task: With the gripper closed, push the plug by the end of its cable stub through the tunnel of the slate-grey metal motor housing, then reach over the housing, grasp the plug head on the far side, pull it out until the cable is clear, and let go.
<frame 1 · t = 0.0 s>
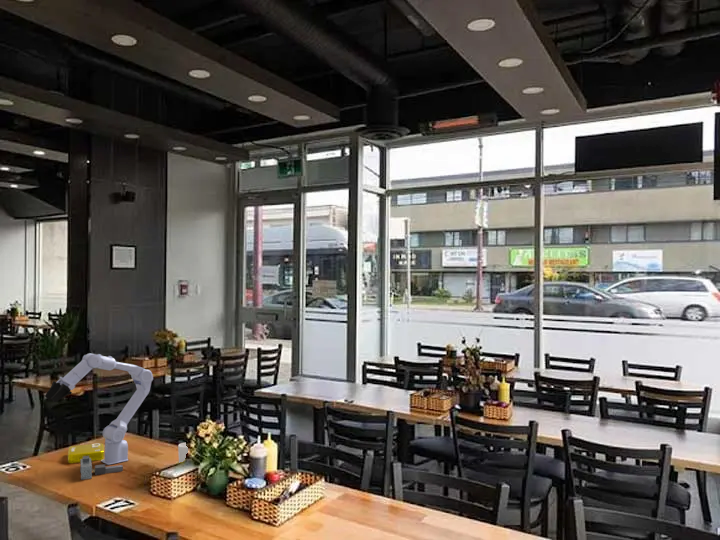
hand: (49, 399, 248), 32 cm above the table, tool tilted 50°, fingers open, 7 cm apart
motor housing: (85, 474, 249), on the table
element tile: (86, 458, 273), on the table
white cup: (187, 467, 261), on the table
plug: (100, 473, 252), on the table
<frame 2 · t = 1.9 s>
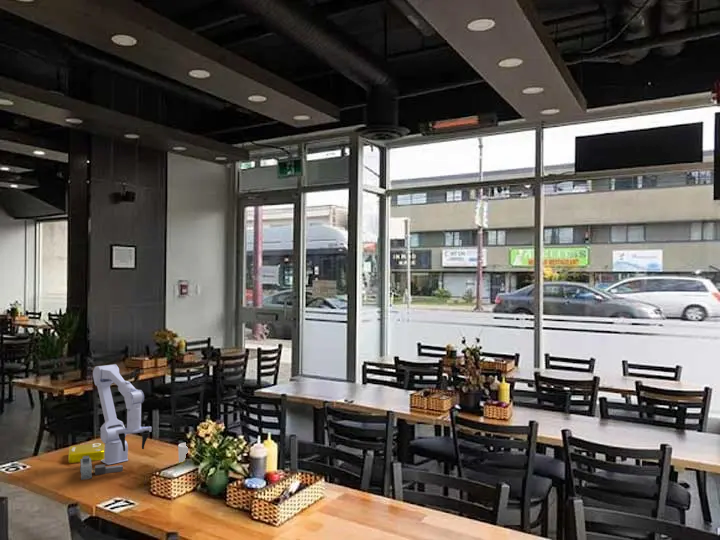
hand: (133, 449, 258), 9 cm above the table, tool pointing down, fingers open, 7 cm apart
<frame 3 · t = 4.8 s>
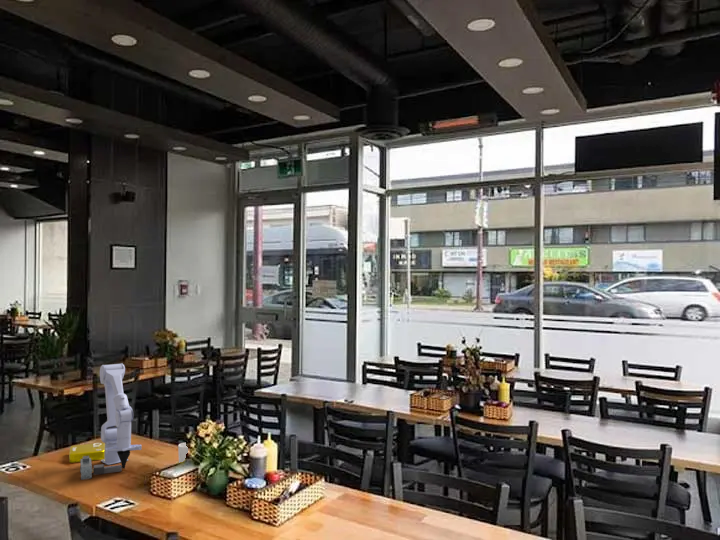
hand: (123, 468, 256), 1 cm above the table, tool pointing down, fingers closed
plug: (98, 473, 252), on the table, touching gripper
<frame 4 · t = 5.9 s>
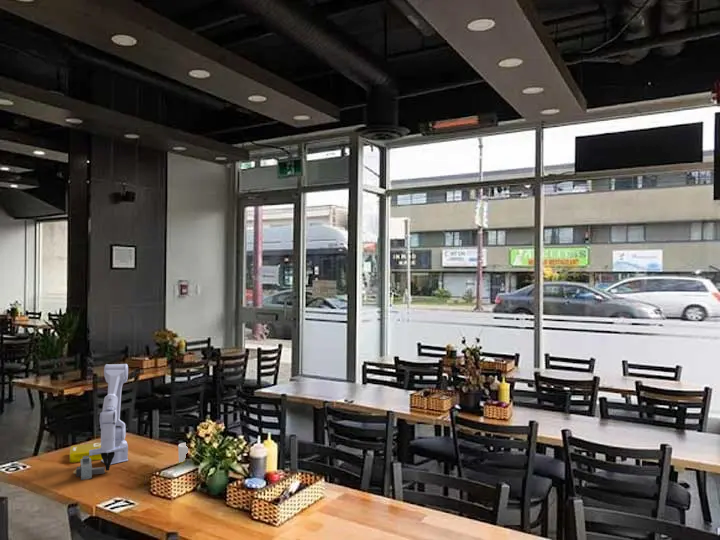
hand: (107, 470, 253), 1 cm above the table, tool pointing down, fingers closed
plug: (81, 474, 249), on the table, touching gripper
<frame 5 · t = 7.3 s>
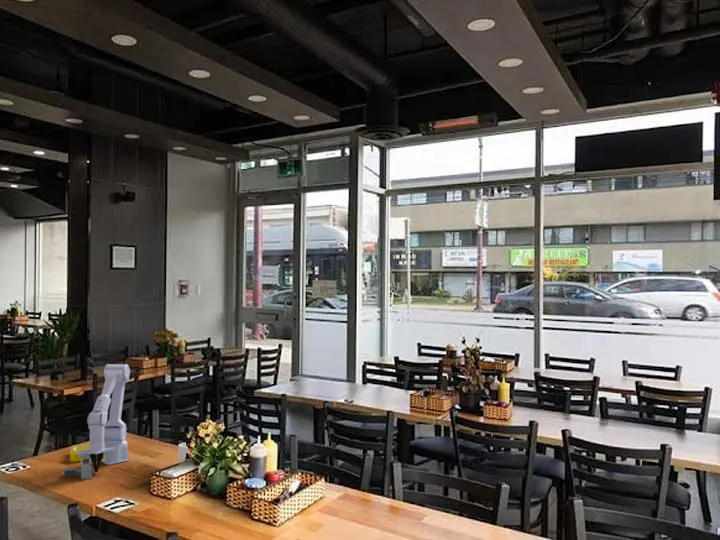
hand: (96, 471, 251), 1 cm above the table, tool pointing down, fingers closed
plug: (70, 475, 248), on the table, touching gripper
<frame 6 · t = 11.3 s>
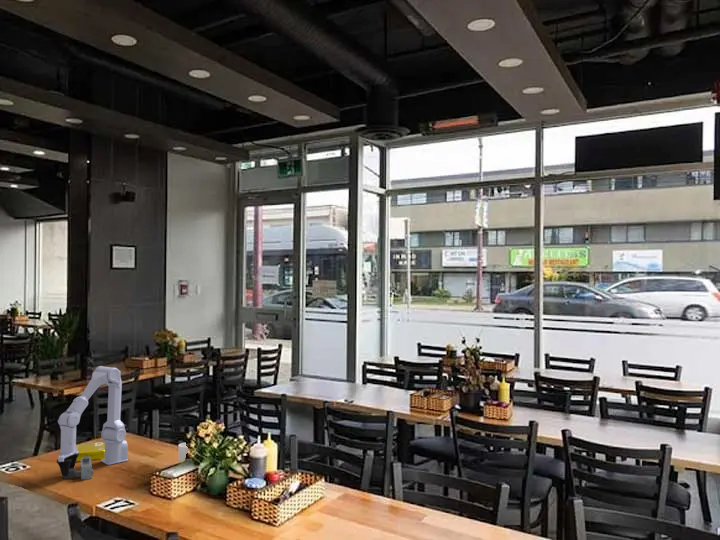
hand: (67, 473, 246), 1 cm above the table, tool pointing down, fingers closed on plug, 5 cm apart
plug: (69, 476, 246), on the table, touching gripper
when the fingers open (1 cm above the table, at t = 14.8 s): plug stays where it is, on the table.
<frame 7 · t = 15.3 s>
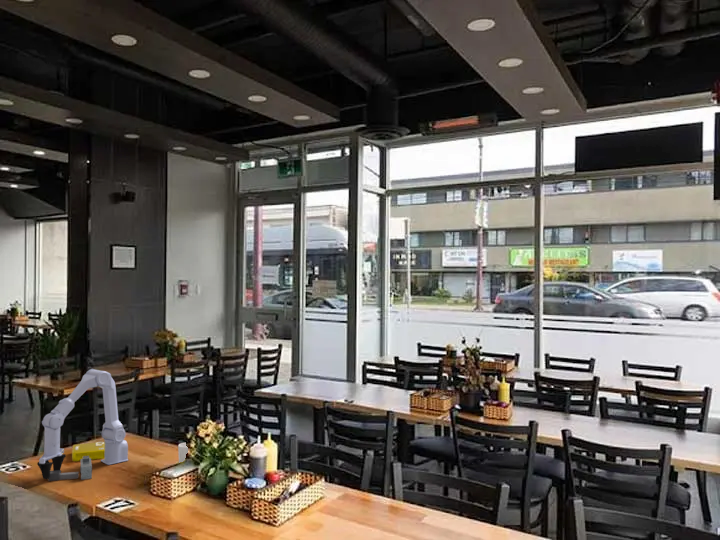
hand: (51, 475, 243), 1 cm above the table, tool pointing down, fingers open, 7 cm apart
plug: (54, 479, 244), on the table
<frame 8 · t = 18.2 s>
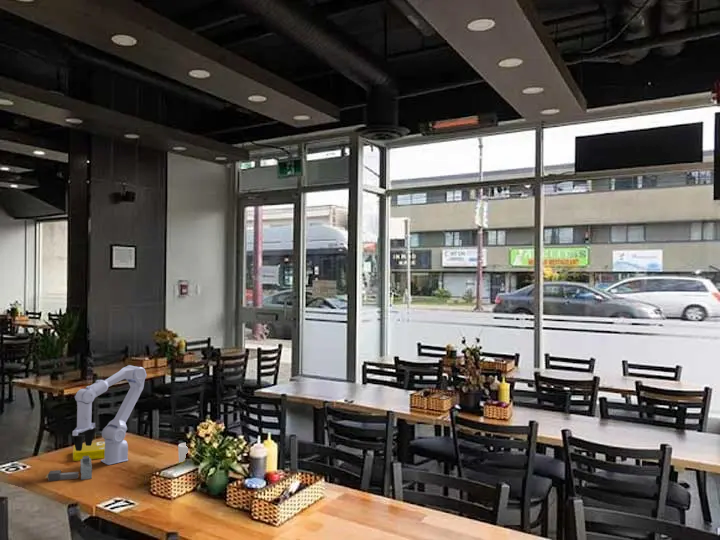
hand: (83, 448, 256), 9 cm above the table, tool pointing down, fingers open, 7 cm apart
at the end: plug 1.7 cm from the target spot, on the table; plug touching table; the gripper is holding nothing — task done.
